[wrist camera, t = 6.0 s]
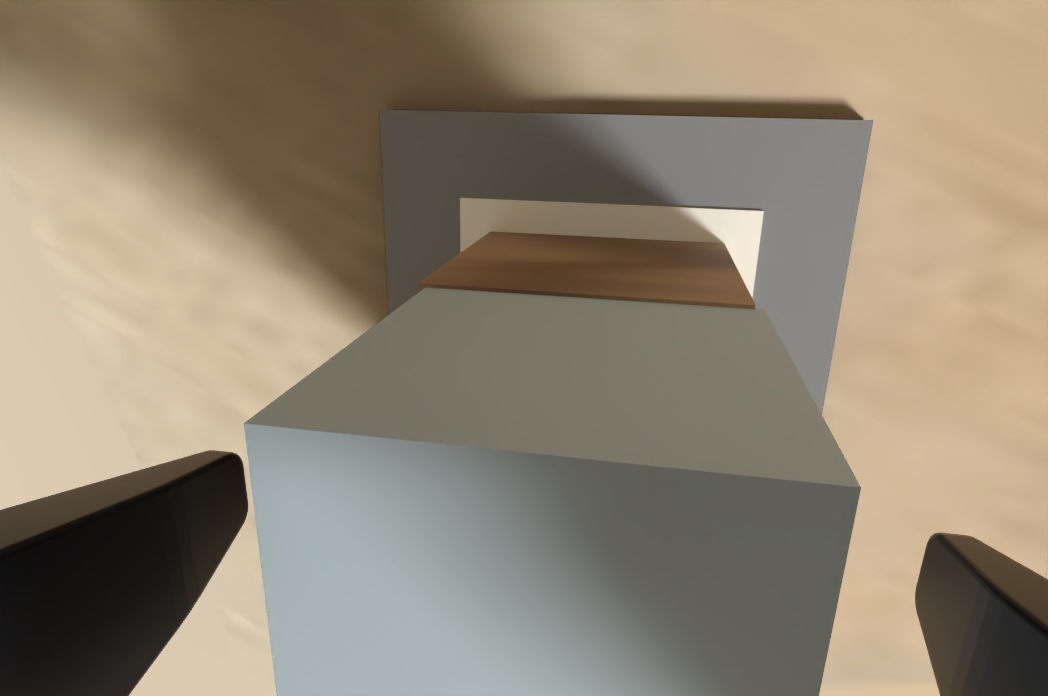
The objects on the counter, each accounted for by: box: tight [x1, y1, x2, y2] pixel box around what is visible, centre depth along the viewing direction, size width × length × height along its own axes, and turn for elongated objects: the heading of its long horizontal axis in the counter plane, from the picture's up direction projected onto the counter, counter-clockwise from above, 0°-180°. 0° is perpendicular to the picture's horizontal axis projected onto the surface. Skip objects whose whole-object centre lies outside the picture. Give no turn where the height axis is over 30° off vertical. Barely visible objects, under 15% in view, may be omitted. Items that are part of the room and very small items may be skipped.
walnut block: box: [417, 231, 756, 309], centre depth 13 cm, size 5×5×5 cm
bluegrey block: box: [244, 287, 861, 696], centre depth 9 cm, size 5×5×5 cm
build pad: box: [379, 110, 873, 415], centre depth 16 cm, size 10×10×1 cm
